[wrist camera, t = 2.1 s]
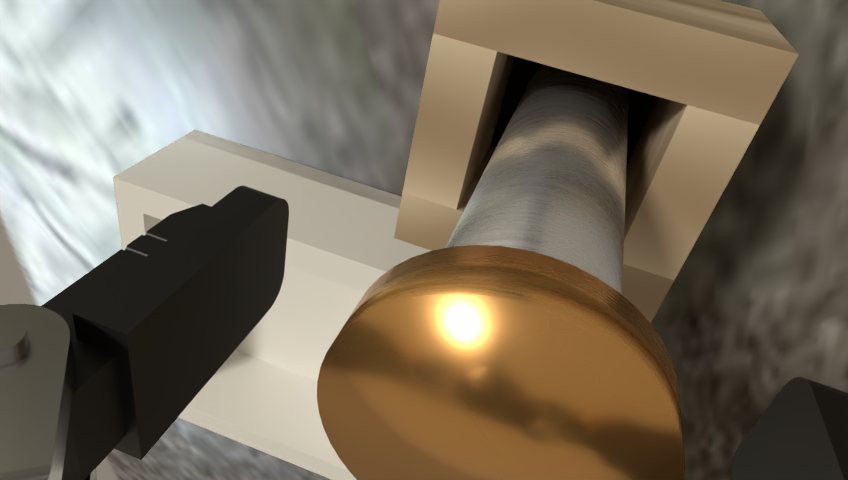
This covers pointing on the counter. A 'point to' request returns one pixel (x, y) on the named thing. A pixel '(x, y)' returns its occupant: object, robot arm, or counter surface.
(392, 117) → the counter surface
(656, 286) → the pin block
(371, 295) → the pin
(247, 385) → the tray
